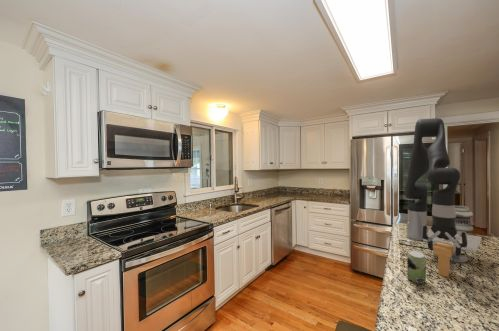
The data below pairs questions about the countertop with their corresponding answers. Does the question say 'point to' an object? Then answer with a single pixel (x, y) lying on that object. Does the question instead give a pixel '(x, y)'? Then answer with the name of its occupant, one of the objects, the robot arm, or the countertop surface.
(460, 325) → the countertop surface
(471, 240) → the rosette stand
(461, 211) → the apothecary jar
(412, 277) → the beverage can
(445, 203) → the robot arm
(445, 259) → the orange block
